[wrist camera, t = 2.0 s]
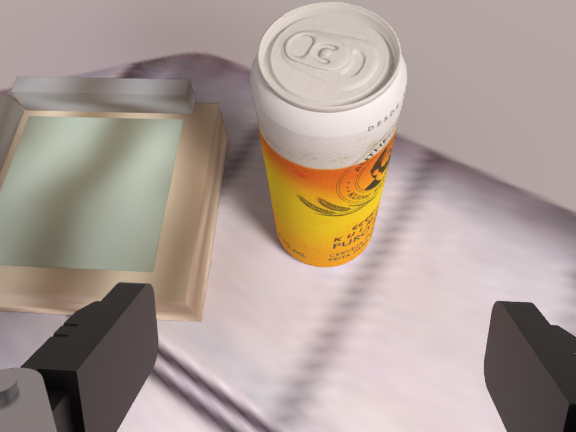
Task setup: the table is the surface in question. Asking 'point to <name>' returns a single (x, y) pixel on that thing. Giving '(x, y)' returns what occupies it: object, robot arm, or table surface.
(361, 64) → the beer can
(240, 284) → the table surface
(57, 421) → the robot arm
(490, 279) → the table surface
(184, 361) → the table surface
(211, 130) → the square tray
